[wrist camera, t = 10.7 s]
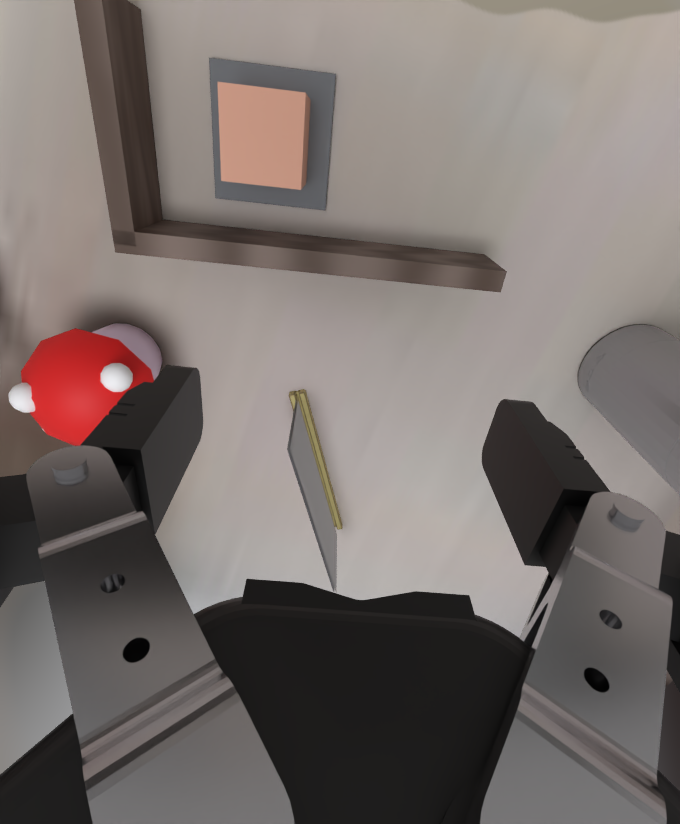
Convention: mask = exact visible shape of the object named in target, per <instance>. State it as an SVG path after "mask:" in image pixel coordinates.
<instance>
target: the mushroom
mask: <svg viewBox="0 0 680 824" xmlns="http://www.w3.org/2000/svg"><path fill="white" fill-rule="evenodd" d="M161 365H162V356H161V352H160V348H159V347H158V345H157V344H156V342H155V341H154V339H153V338H152V337H151V336H150V335H148V334H147V333H146V332H145V331H143V330H142V329H141V328H138V327H135V326H133V325H130V324H122V323H114V324H111V325H109V326H106V327H103V328H101V329H98V330H96V331H93V332H87V331H84V330H80V329H76V328H75V329H72V330H70V331H67V332H64V333H61V334H59V335H56V336H53V337H51V338H48V339H45V340H42V341H41V342H40V343H39V345H38V346H37V348H36V349H35V351H34V352H33V354H32V356H31V357H30V359H29V360H28V362H27V363H26V365H25V366H24V368H23V369H22V371H21V376H22V383H20V384H18V385H16V386H14V387H13V388H12V389H11V391H10V392H9V402H10V403H11V405H12V406H13V407H14V408H15V409H17V410H19V411H21V412H29V413H30V414H31V415H32V416H33V417H34V419H35V420H36V421H37V422H38V424H39V425H40V426H41V427H42V429H43V431H45V432H46V433H47V434H48V435H50V436H53V437H55V438H57V439H60V440H62V441H65V442H67V443H69V444H72V445H74V446H80V445H81V444H82V443H83V441H84V440H85V439H86V438H87V437H88V436H89V434H90V433H91V432H92V431H93V430H94V429H95V427H96V426H97V425H98V424H99V423H100V422H101V421H102V419H103V418H104V417H105V416H106V415H109V411H110V410H111V409H112V408H113V407H114V406H115V405H117V402H118V401H119V400H120V399H121V397H122V396H123V395H124V394H125V393H126V392H127V391H128V390H130V389H132V388H133V387H135V386H137V385H139V384H141V383H143V382H152V383H153V381H154V380H155V379H156V378H157V376H158V375H159V372H160V369H161Z"/></svg>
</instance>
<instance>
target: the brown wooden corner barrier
mask: <svg viewBox="0 0 680 824" xmlns="http://www.w3.org/2000/svg"><path fill="white" fill-rule="evenodd" d="M74 3H75V9H76V15H77V21H78V27H79V34H80V40H81V46H82V52H83V58H84V64H85V70H86V76H87V82H88V88H89V94H90V101H91V107H92V113H93V119H94V125H95V131H96V137H97V143H98V149H99V155H100V161H101V168H102V174H103V180H104V186H105V192H106V198H107V204H108V210H109V216H110V222H111V228H112V235H113V241H114V247H115V252H117V253H126V254H136V255H145V256H155V257H165V258H174V259H184V260H194V261H203V262H213V263H223V264H232V265H242V266H252V267H261V268H271V269H281V270H290V271H300V272H309V273H319V274H329V275H338V276H348V277H358V278H367V279H377V280H387V281H396V282H406V283H416V284H425V285H435V286H445V287H454V288H464V289H473V290H483V291H493V292H501V289H502V286H503V282H504V279H505V276H506V272H507V271H505V270H504V269H503V268H501V267H500V266H499V265H497V264H496V263H495V262H494V261H492V260H491V259H490V258H488V257H487V256H486V255H484V254H475V253H466V252H456V251H447V250H438V249H429V248H419V247H410V246H401V245H392V244H382V243H373V242H364V241H355V240H345V239H336V238H327V237H318V236H309V235H299V234H290V233H281V232H272V231H262V230H253V229H244V228H235V227H225V226H216V225H207V224H198V223H188V222H179V221H170V220H163V219H162V209H161V200H160V190H159V181H158V171H157V162H156V152H155V143H154V133H153V124H152V114H151V105H150V95H149V86H148V76H147V67H146V57H145V48H144V38H143V29H142V19H141V10H140V9H139V8H138V7H136V6H135V5H133V4H132V3H130V2H129V1H127V0H74Z"/></svg>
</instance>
